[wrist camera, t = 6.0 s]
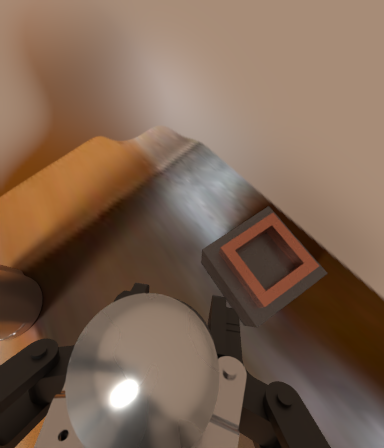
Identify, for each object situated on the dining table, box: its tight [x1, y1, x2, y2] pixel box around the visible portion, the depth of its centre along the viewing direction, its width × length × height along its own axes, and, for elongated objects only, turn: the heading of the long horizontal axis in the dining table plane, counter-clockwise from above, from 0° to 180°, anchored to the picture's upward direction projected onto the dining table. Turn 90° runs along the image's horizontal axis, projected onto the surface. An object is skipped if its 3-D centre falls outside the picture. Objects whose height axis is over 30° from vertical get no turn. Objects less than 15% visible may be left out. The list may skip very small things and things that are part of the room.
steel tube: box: [65, 293, 219, 448], centre depth 12 cm, size 4×4×14 cm
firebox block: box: [201, 206, 327, 327], centre depth 33 cm, size 11×11×10 cm
